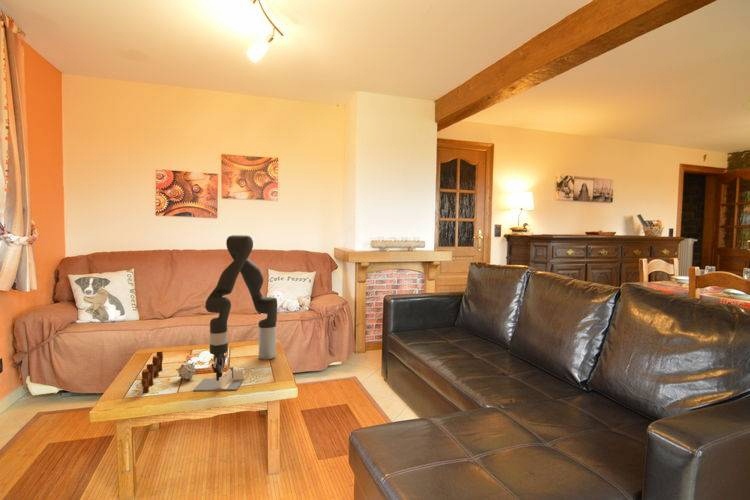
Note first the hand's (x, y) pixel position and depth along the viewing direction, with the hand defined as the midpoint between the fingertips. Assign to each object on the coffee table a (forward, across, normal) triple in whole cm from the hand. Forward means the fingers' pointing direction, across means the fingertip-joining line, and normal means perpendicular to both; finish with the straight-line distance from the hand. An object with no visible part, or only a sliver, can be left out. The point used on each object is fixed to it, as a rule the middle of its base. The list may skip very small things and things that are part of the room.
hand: (219, 380), depth 173 cm
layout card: (+3, -3, -1) cm, 5 cm away
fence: (+4, -10, -33) cm, 35 cm away
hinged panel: (+2, -3, +2) cm, 4 cm away
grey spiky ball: (+4, -10, -18) cm, 21 cm away
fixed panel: (+4, -8, +6) cm, 11 cm away
